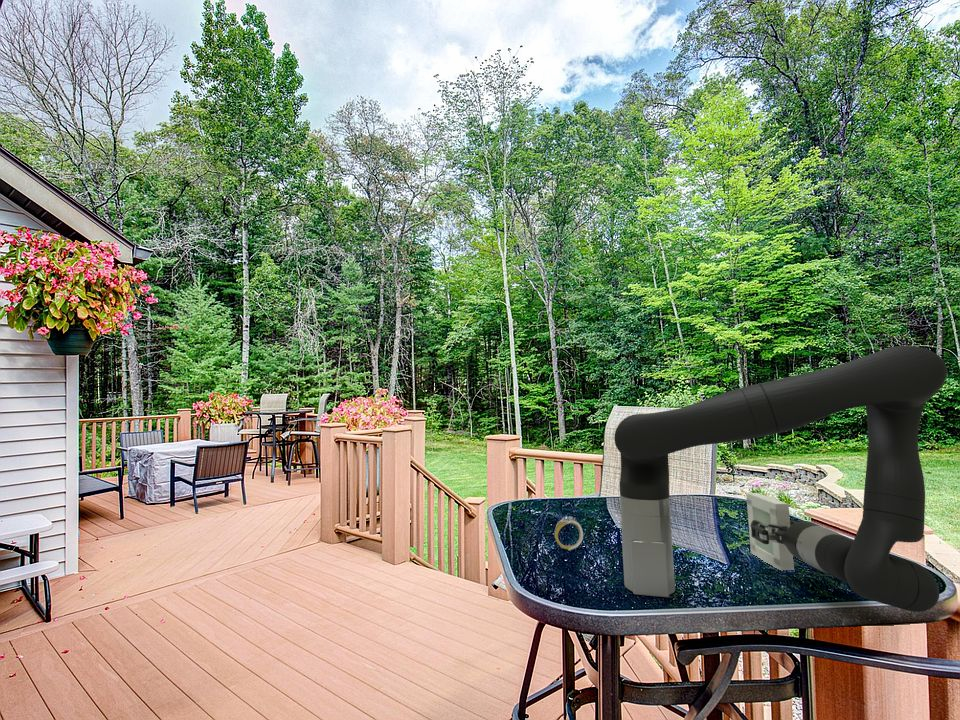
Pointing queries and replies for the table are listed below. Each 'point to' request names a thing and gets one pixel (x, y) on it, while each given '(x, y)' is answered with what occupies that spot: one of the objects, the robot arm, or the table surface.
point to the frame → (767, 514)
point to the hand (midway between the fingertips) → (772, 525)
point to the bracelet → (560, 525)
